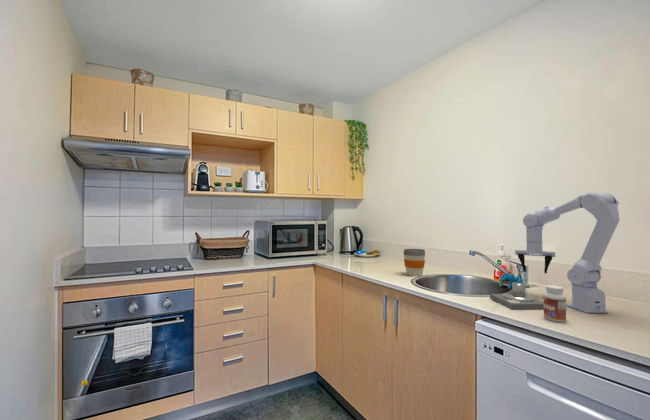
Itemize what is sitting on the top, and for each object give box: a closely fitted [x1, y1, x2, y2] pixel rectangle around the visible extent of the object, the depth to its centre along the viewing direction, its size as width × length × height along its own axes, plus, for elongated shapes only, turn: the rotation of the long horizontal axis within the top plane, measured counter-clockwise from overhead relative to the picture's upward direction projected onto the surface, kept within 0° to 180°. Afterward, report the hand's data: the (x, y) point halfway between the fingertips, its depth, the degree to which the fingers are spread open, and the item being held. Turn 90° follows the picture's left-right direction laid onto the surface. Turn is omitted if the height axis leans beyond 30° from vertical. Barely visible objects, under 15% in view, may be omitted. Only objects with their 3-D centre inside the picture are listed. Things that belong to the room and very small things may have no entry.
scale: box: [489, 292, 544, 311], centre depth 121 cm, size 15×14×3 cm
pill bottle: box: [543, 284, 567, 323], centre depth 103 cm, size 6×6×11 cm
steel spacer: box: [511, 282, 527, 297], centre depth 123 cm, size 5×5×5 cm
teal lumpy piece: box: [498, 272, 525, 289], centre depth 147 cm, size 11×6×10 cm
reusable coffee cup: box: [403, 248, 426, 277], centre depth 179 cm, size 13×13×15 cm
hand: (534, 272), depth 132 cm, fingers open, 7 cm apart
